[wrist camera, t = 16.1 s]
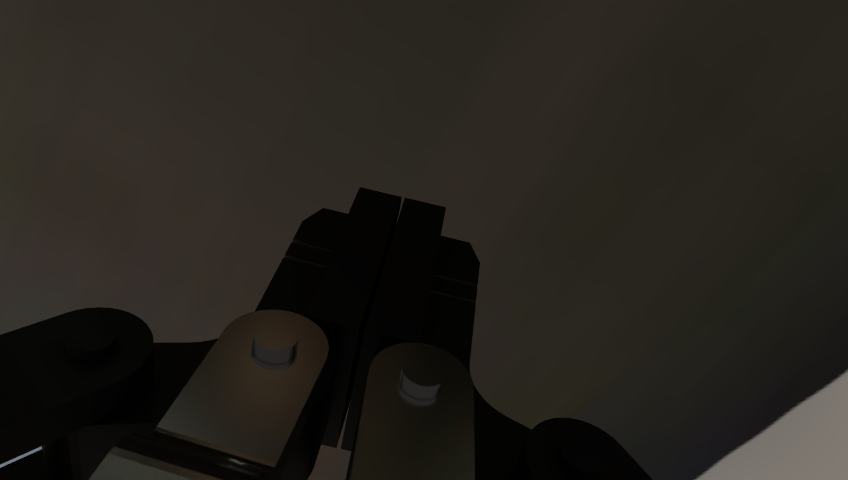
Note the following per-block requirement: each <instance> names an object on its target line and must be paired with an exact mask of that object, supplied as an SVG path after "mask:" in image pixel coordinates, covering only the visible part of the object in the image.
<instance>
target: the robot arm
mask: <svg viewBox="0 0 848 480" xmlns="http://www.w3.org/2000/svg"><path fill="white" fill-rule="evenodd" d="M401 198H402V197H399V196H395V195H391V194H387V193H382V192H378V191H374V190H370V189H365V188H361V187H360V189H359V191H358V193H357V195H356V197H355V200H354V202H353V204H352V207H351V209H350V211H349V214H346V213H342V212H338V211H333V210H329V209H325V208H323V209H321V210H319V211H318V212H316V213H315V214H313V215H311V216H310V217H308V218H307V219H305V220H304V221H302V223H301V225H300V227H299V229H298V231H297V233H296V235H295V237H294V239H293V242H292V243H291V244H290V246H289V248H288V250H287V252H286V254H285V257H284V258H283V259H282V261H281V263H280V265H279V267H278V269H277V271H276V273H275V274H274V276H273V278H272V280H271V282H270V284H269V286H268V288H267V290H266V291H265V293H264V295H263V297H262V299H261V301H260V303H259V305H258V307H257V308H256V310H255V312H251V313H248V314H245V315H243V316H241V317H239V318H237V319H235V320H234V321H233V322H232V323H230V324H229V325H228V326H227V327H226V329H225V330H224V331H223V333H222V334H221V335H220V337H219V338H218V339H214V340H210V341H203V342H191V343H153V335H152V332H151V330H150V328H149V327H148V325H147V324H146V323H145V322H144V321H143V320H142V319H140V318H138V317H137V316H135V315H133V314H131V313H129V312H126V311H122V310H119V309H113V308H100V307H97V308H86V309H80V310H75V311H71V312H68V313H65V314H62V315H59V316H56V317H53V318H50V319H47V320H44V321H41V322H38V323H35V324H32V325H29V326H26V327H23V328H20V329H17V330H14V331H11V332H8V333H5V334H2V335H0V464H2V463H4V462H7V461H9V460H11V459H13V458H16V457H18V456H20V455H22V454H25V453H27V452H29V451H31V450H34V449H36V448H38V447H40V446H42V450H39V451H37V452H35V453H33V454H31V455H28V456H26V457H24V458H22V459H19V460H17V461H15V462H12V463H10V464H8V465H6V466H4V467H2V468H0V480H307V479H308V477H309V476H310V474H311V473H312V470H313V468H314V465H315V462H316V459H317V456H318V453H319V450H320V446H321V444H322V445H326V446H330V447H334V448H337V444H338V441H339V437H340V434H341V430H342V427H343V424H344V420H345V417H346V413H347V410H348V407H349V411H348V416H347V421H346V426H345V431H344V436H343V441H342V446H341V449H344V450H348V451H351V456H350V461H349V465H348V470H347V475H346V479H345V480H652V479H651V478H650V477H649V476H648V474H647V473H646V472H645V471H644V470H643V469H642V468H641V467H640V466H639V465H638V463H637V462H636V461H635V460H634V459H633V458H632V457H631V456H630V455H629V454H628V453H627V451H626V450H625V449H624V448H623V447H622V446H621V445H620V444H619V443H618V442H617V441H616V440H615V439H614V438H613V437H611V436H610V435H609V434H607V433H606V432H604V431H603V430H601V429H600V428H598V427H596V426H594V425H592V424H589V423H587V422H584V421H581V420H576V419H571V418H553V419H549V420H545V421H543V422H541V423H539V424H538V425H537V426H535V427H534V428H533V429H532V430H531V429H529V428H527V427H525V426H524V425H522V424H520V423H518V422H516V421H514V420H512V419H510V418H508V417H506V416H505V415H503V414H501V413H500V412H498V411H497V410H496V409H494V408H493V407H492V406H490V405H489V404H488V403H487V402H486V401H485V400H484V399H483V398H482V396H481V395H480V394H479V393H478V391H477V389H476V388H475V386H474V384H473V381H472V378H471V375H470V366H469V364H470V354H471V345H472V335H473V325H474V315H475V305H476V303H475V302H476V295H477V284H478V276H479V266H480V262H479V260H478V258H477V256H476V254H475V252H474V250H473V248H472V246H471V244H470V243H469V242H465V241H461V240H457V239H452V238H448V237H444V236H440V235H441V230H442V225H443V220H444V215H445V210H446V207H442V206H438V205H434V204H429V203H425V202H421V201H417V200H413V199H408V198H405V199H404V202H403V206H402V209H401V212H400V215H399V219H398V214H399V210H400V205H401ZM397 219H398V222H397ZM396 224H397V225H396ZM350 400H351V401H350ZM349 403H350V406H349Z"/></svg>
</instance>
